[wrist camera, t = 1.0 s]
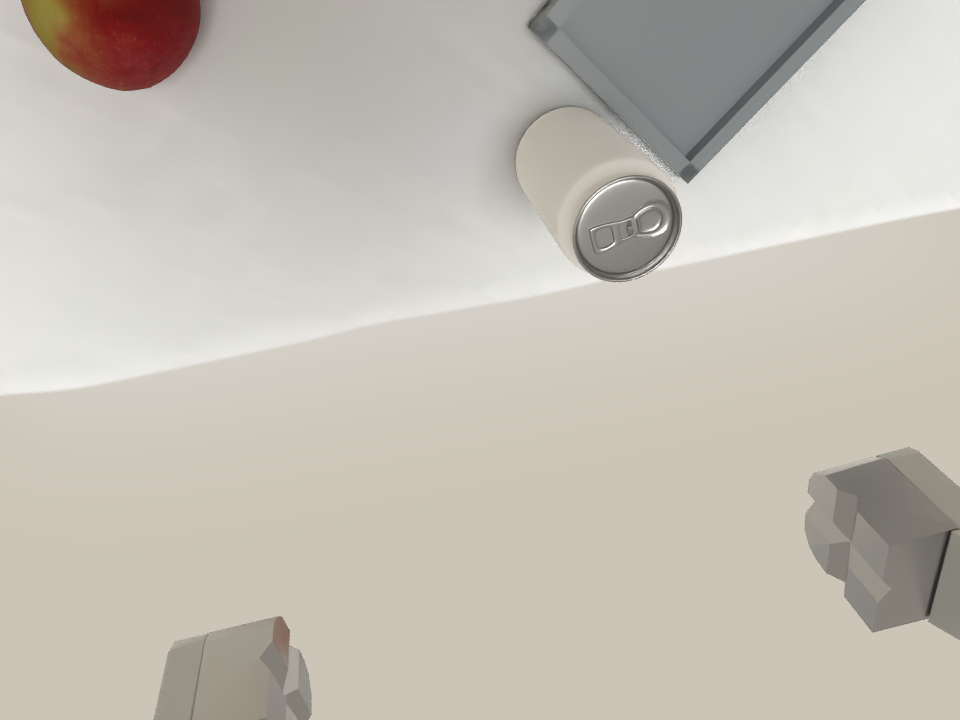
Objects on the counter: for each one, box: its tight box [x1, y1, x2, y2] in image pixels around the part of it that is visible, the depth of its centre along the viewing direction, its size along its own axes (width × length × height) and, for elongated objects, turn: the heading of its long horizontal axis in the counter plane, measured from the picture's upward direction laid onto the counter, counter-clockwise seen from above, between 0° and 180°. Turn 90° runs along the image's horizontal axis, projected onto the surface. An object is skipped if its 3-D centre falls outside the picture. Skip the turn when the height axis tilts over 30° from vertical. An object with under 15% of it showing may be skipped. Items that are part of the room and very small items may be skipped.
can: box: [515, 107, 682, 282], centre depth 41 cm, size 6×6×12 cm
